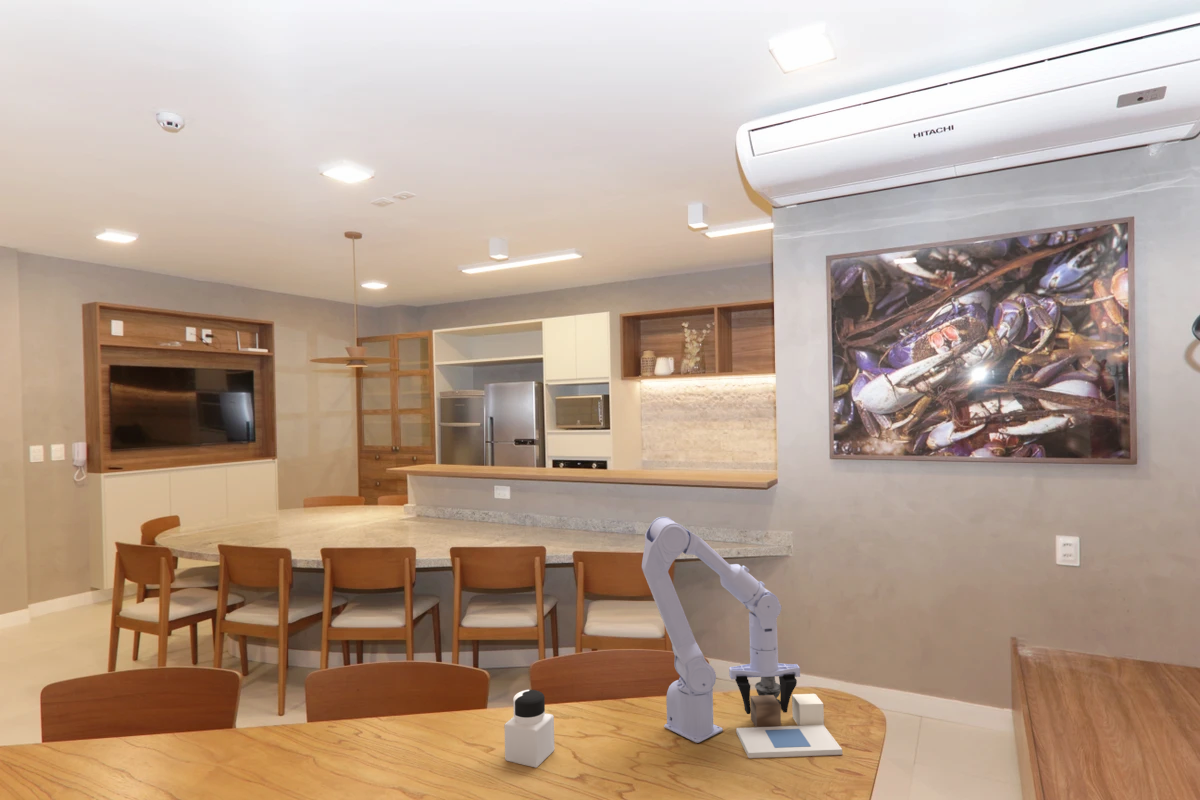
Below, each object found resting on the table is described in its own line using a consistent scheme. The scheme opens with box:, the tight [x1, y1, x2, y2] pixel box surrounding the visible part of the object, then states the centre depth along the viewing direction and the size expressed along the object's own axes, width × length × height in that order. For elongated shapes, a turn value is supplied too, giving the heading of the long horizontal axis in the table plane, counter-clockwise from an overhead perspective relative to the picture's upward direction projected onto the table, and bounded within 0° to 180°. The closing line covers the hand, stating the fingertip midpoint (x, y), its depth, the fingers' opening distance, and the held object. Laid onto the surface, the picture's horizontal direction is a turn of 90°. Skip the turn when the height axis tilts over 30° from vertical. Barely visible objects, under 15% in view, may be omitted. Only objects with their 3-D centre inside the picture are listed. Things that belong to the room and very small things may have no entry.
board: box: [735, 724, 843, 759], centre depth 133 cm, size 18×10×1 cm, turn 92°
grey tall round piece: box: [754, 676, 781, 705], centre depth 152 cm, size 6×6×12 cm
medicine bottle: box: [504, 689, 555, 769], centre depth 131 cm, size 7×7×12 cm
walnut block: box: [750, 695, 782, 727], centre depth 142 cm, size 5×5×5 cm
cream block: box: [791, 693, 825, 726], centre depth 142 cm, size 5×5×5 cm
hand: (765, 711), depth 142 cm, fingers open, 7 cm apart
